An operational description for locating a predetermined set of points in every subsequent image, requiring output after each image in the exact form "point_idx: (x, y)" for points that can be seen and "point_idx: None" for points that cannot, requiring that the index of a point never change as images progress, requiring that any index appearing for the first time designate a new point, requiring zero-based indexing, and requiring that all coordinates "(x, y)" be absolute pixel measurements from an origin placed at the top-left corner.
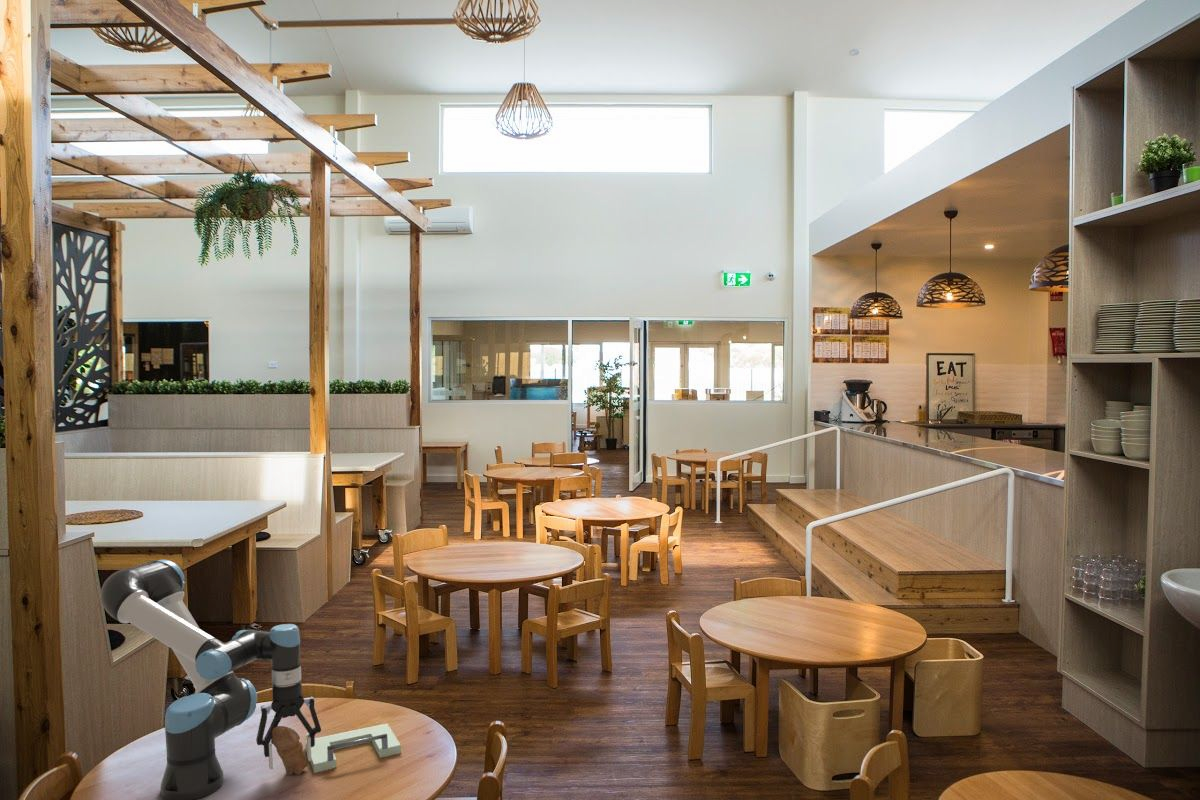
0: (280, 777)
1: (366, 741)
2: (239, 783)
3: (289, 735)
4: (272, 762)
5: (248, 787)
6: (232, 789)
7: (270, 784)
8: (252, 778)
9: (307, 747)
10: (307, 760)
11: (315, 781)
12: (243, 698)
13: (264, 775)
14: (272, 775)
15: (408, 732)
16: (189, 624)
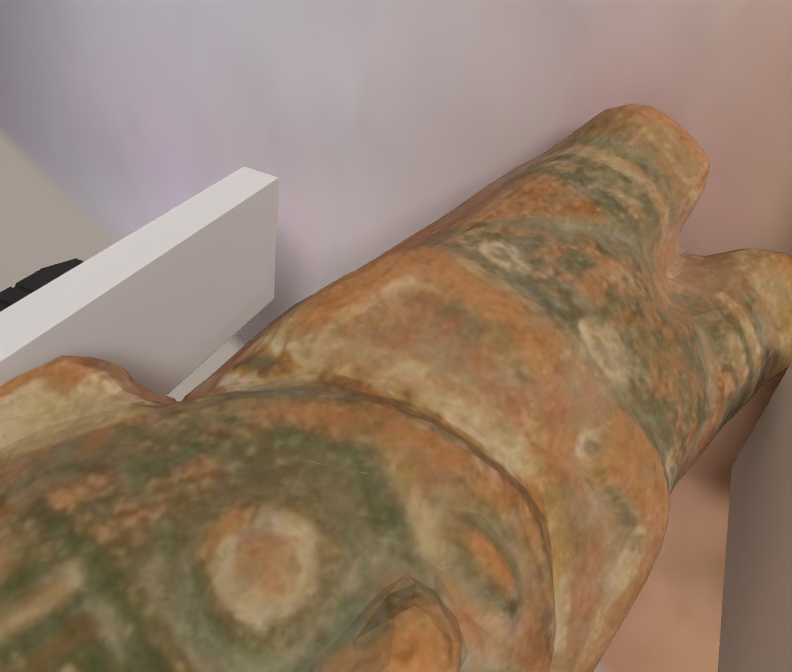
0: (421, 229)
1: None
2: (49, 37)
3: None
4: (221, 344)
5: (128, 193)
6: (8, 121)
7: (304, 293)
8: (160, 12)
9: (756, 566)
10: (766, 378)
11: (671, 566)
12: None
13: (280, 35)
14: (358, 109)
15: None
16: None
